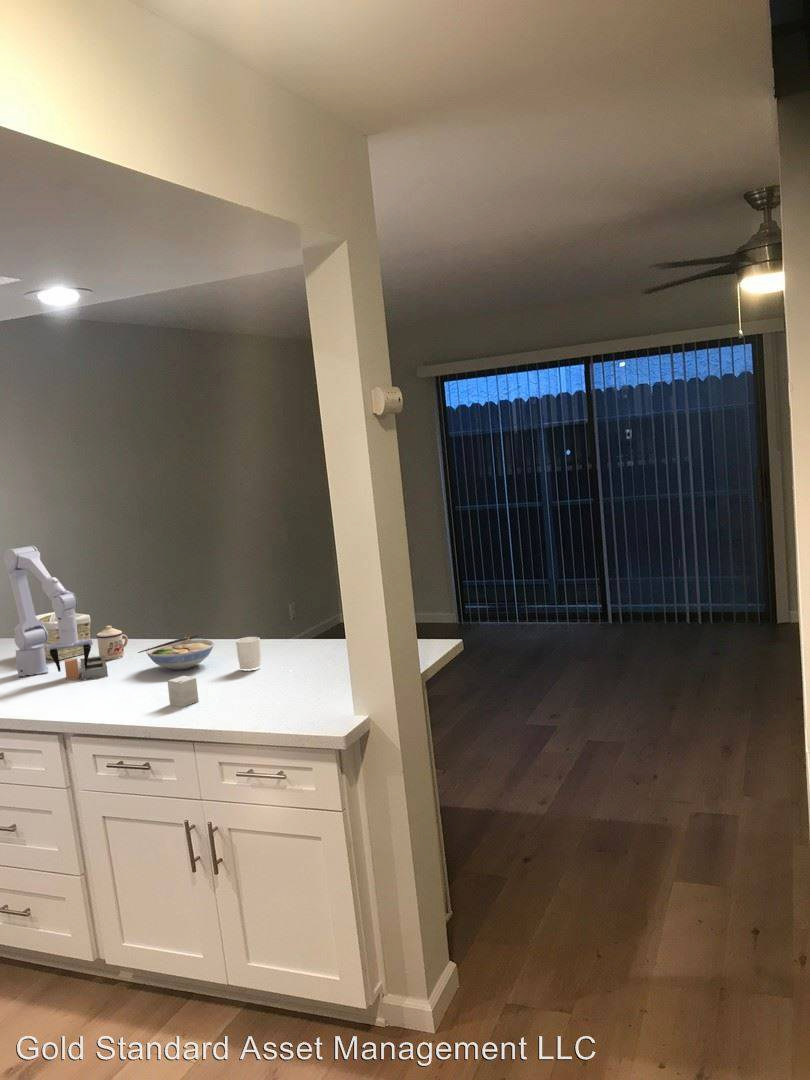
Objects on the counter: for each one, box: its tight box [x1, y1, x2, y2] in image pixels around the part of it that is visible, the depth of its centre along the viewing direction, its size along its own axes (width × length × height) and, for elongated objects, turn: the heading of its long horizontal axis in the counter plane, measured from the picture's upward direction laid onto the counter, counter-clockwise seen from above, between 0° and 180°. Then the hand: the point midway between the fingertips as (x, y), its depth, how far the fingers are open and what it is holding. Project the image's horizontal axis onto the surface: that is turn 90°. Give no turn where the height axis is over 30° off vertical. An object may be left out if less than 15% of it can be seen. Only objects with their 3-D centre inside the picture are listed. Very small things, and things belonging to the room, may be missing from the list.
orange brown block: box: [64, 657, 80, 680], centre depth 305 cm, size 4×4×6 cm
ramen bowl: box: [137, 634, 215, 671], centre depth 308 cm, size 25×23×8 cm
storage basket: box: [26, 611, 92, 661], centre depth 343 cm, size 24×16×15 cm
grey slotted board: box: [80, 655, 109, 681], centre depth 311 cm, size 20×8×3 cm, turn 21°
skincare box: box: [167, 675, 200, 708], centre depth 264 cm, size 6×6×7 cm
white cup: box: [235, 636, 262, 670], centre depth 298 cm, size 8×8×10 cm
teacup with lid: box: [96, 625, 129, 661], centre depth 332 cm, size 12×9×12 cm
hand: (72, 669), depth 305 cm, fingers open, 7 cm apart
